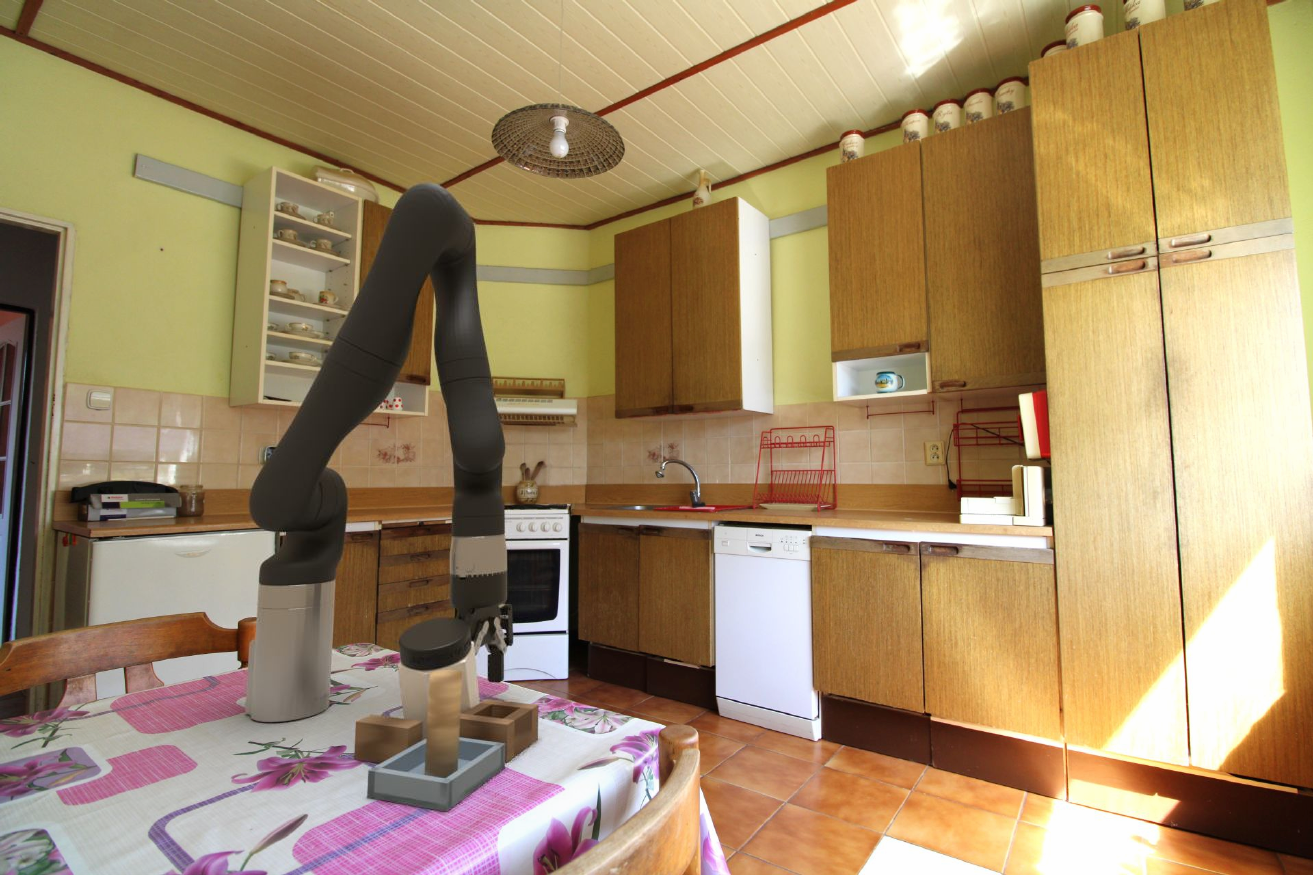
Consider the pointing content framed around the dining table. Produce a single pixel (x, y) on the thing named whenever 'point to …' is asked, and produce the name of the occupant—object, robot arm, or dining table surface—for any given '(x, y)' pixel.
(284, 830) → the dining table surface
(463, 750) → the tray
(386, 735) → the block
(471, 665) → the jar
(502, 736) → the socket block
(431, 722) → the dowel
